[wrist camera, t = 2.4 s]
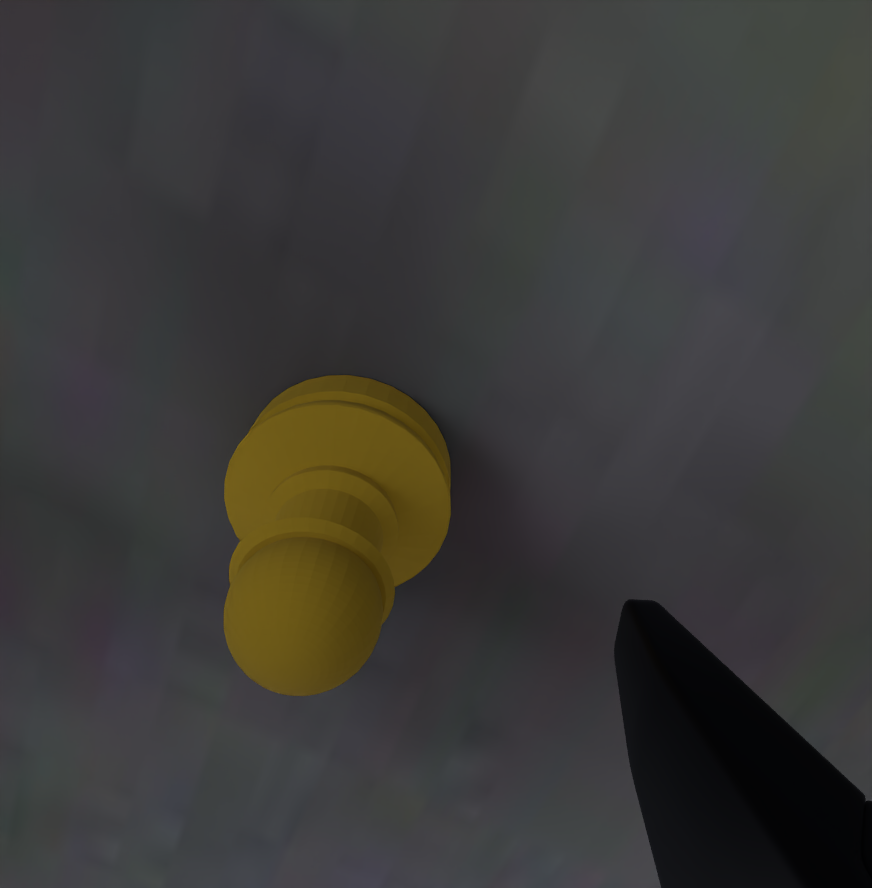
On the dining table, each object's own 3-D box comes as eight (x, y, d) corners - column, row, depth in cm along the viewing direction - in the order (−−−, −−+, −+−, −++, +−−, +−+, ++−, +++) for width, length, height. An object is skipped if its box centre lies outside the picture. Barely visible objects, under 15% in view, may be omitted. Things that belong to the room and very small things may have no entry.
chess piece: (494, 480, 13) (511, 690, 8) (348, 584, 14) (294, 812, 9) (349, 329, 11) (274, 480, 7) (203, 459, 13) (62, 655, 8)
